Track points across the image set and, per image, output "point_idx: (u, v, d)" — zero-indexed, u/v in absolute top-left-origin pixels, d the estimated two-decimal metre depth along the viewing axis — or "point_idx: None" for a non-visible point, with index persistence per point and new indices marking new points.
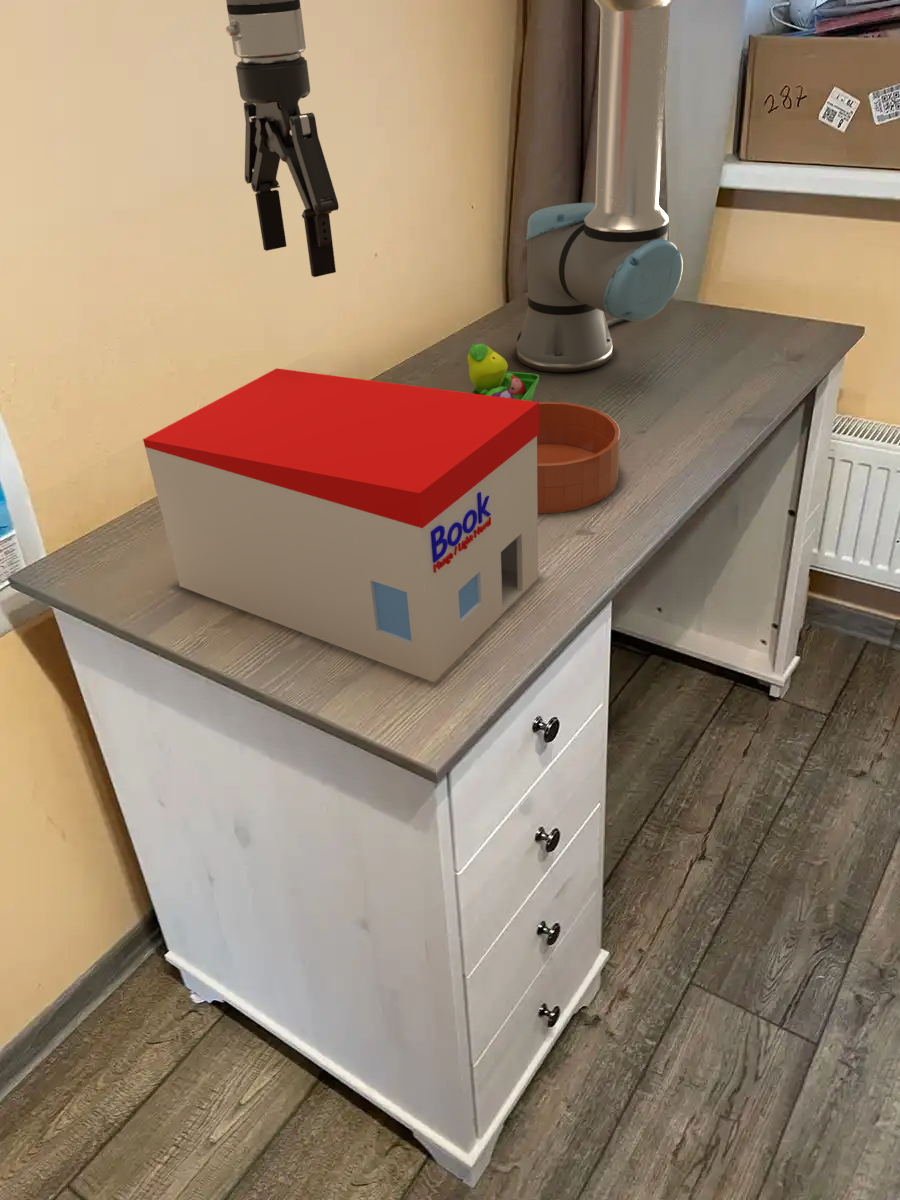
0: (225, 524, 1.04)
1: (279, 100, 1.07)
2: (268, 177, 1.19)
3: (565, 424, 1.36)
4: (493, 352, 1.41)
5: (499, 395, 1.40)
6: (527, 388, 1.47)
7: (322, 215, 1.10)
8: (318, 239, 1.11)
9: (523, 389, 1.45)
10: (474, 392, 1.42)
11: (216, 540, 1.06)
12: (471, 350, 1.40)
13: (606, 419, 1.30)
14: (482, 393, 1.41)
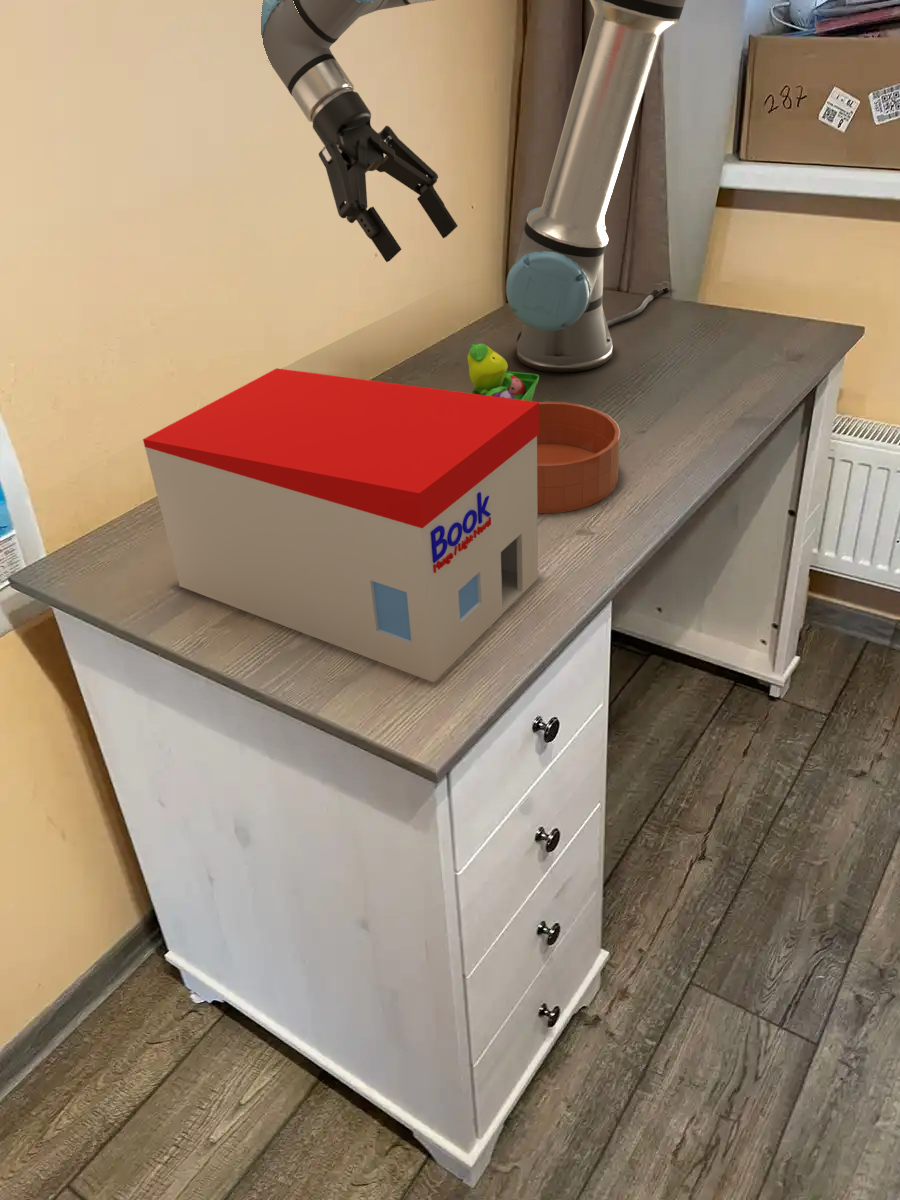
0: (225, 524, 1.04)
1: (327, 140, 1.35)
2: (414, 181, 1.42)
3: (565, 424, 1.36)
4: (493, 352, 1.41)
5: (499, 395, 1.40)
6: (527, 388, 1.47)
7: (356, 215, 1.32)
8: None
9: (523, 389, 1.45)
10: (474, 392, 1.42)
11: (216, 540, 1.06)
12: (471, 350, 1.40)
13: (606, 419, 1.30)
14: (482, 393, 1.41)
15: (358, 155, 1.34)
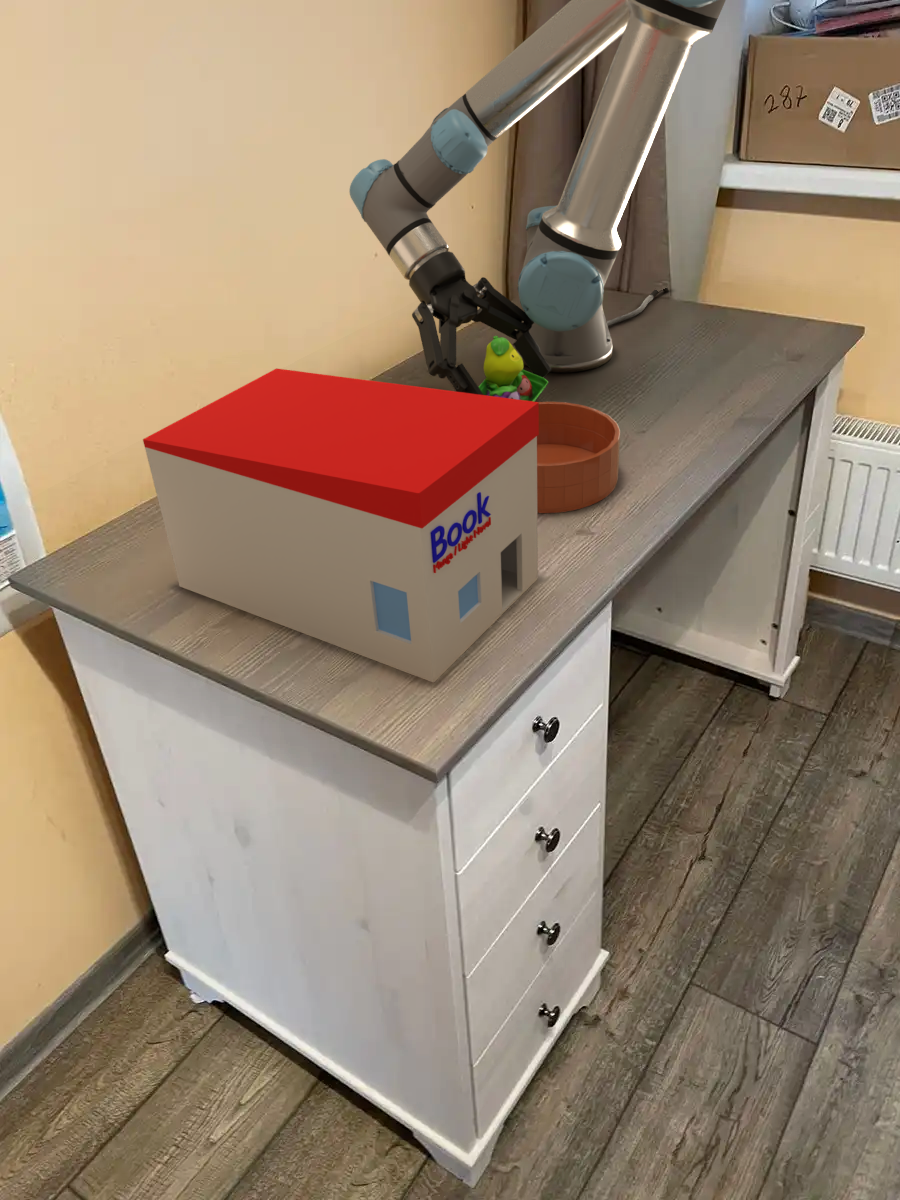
0: (225, 524, 1.04)
1: (422, 299, 1.41)
2: (509, 329, 1.46)
3: (565, 424, 1.36)
4: (513, 349, 1.39)
5: (509, 394, 1.39)
6: (533, 390, 1.46)
7: (445, 372, 1.37)
8: None
9: (530, 392, 1.44)
10: (484, 383, 1.41)
11: (216, 540, 1.06)
12: (493, 342, 1.38)
13: (606, 419, 1.30)
14: (492, 387, 1.40)
15: (449, 313, 1.39)
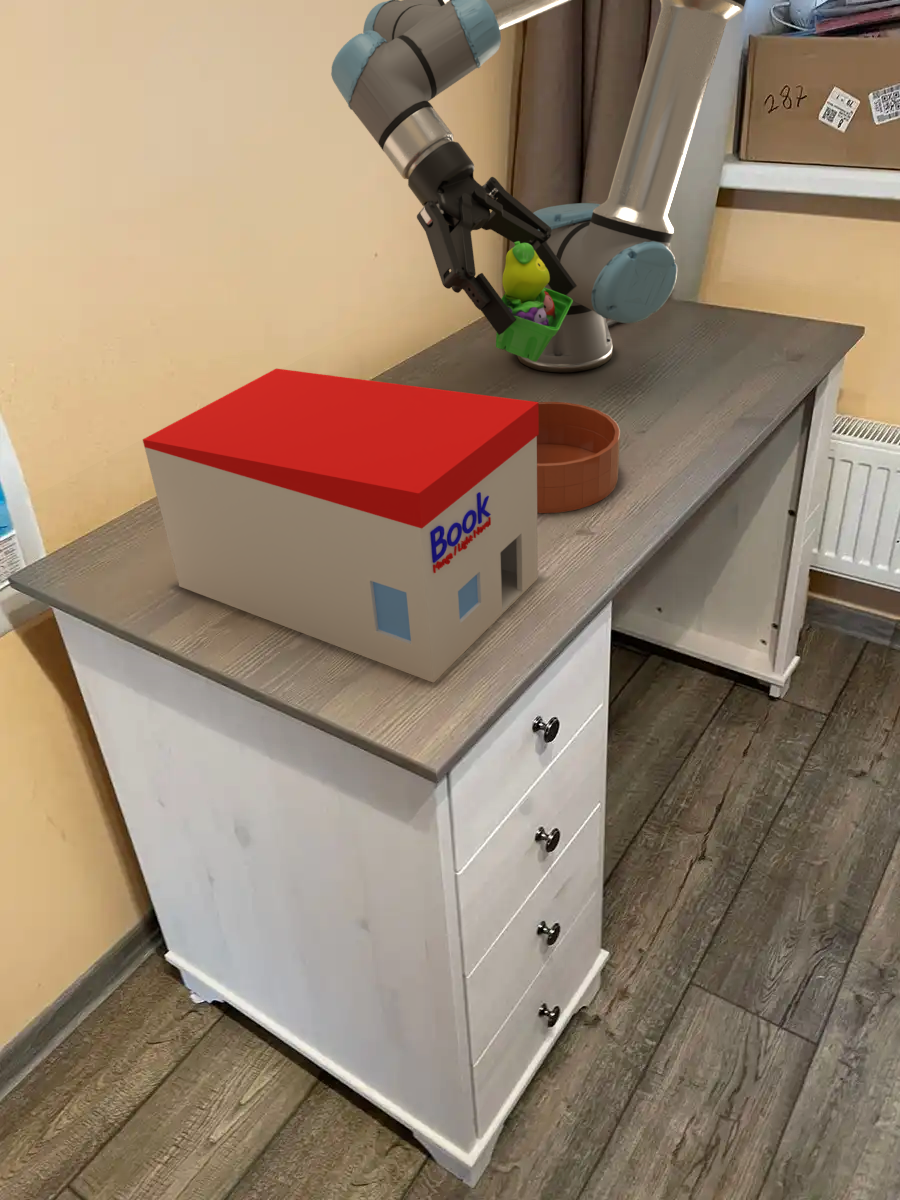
0: (225, 524, 1.04)
1: (425, 200, 1.18)
2: (525, 238, 1.23)
3: (565, 424, 1.36)
4: (538, 258, 1.17)
5: (536, 311, 1.17)
6: (555, 310, 1.24)
7: (463, 283, 1.14)
8: None
9: (554, 311, 1.22)
10: (504, 299, 1.18)
11: (216, 540, 1.06)
12: (516, 248, 1.16)
13: (606, 419, 1.30)
14: (515, 303, 1.17)
15: (462, 214, 1.16)
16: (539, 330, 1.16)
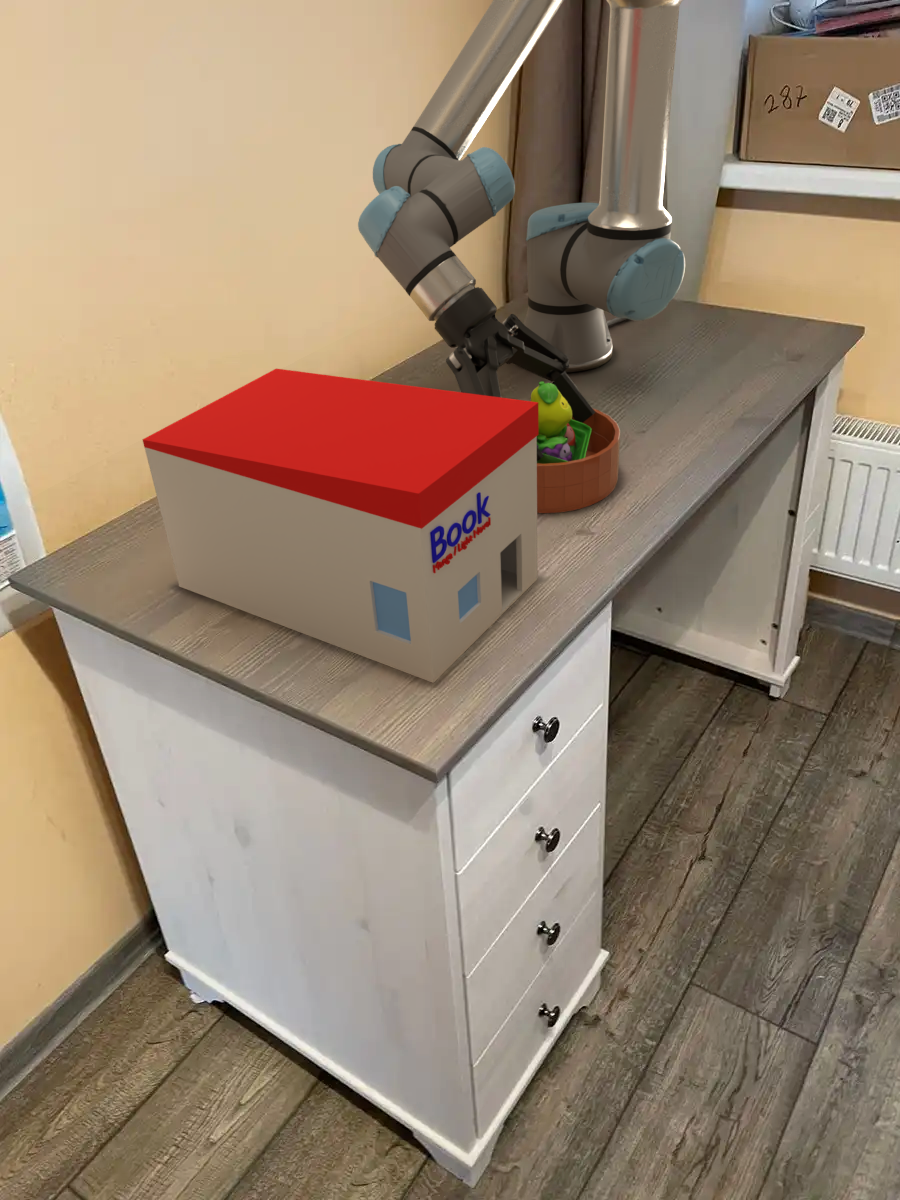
0: (224, 524, 1.04)
1: (452, 343, 1.24)
2: (545, 369, 1.30)
3: None
4: (561, 396, 1.24)
5: (561, 447, 1.24)
6: (575, 438, 1.31)
7: None
8: None
9: (574, 440, 1.29)
10: None
11: (216, 540, 1.06)
12: (541, 389, 1.23)
13: (606, 419, 1.30)
14: (541, 439, 1.24)
15: (488, 357, 1.23)
16: None
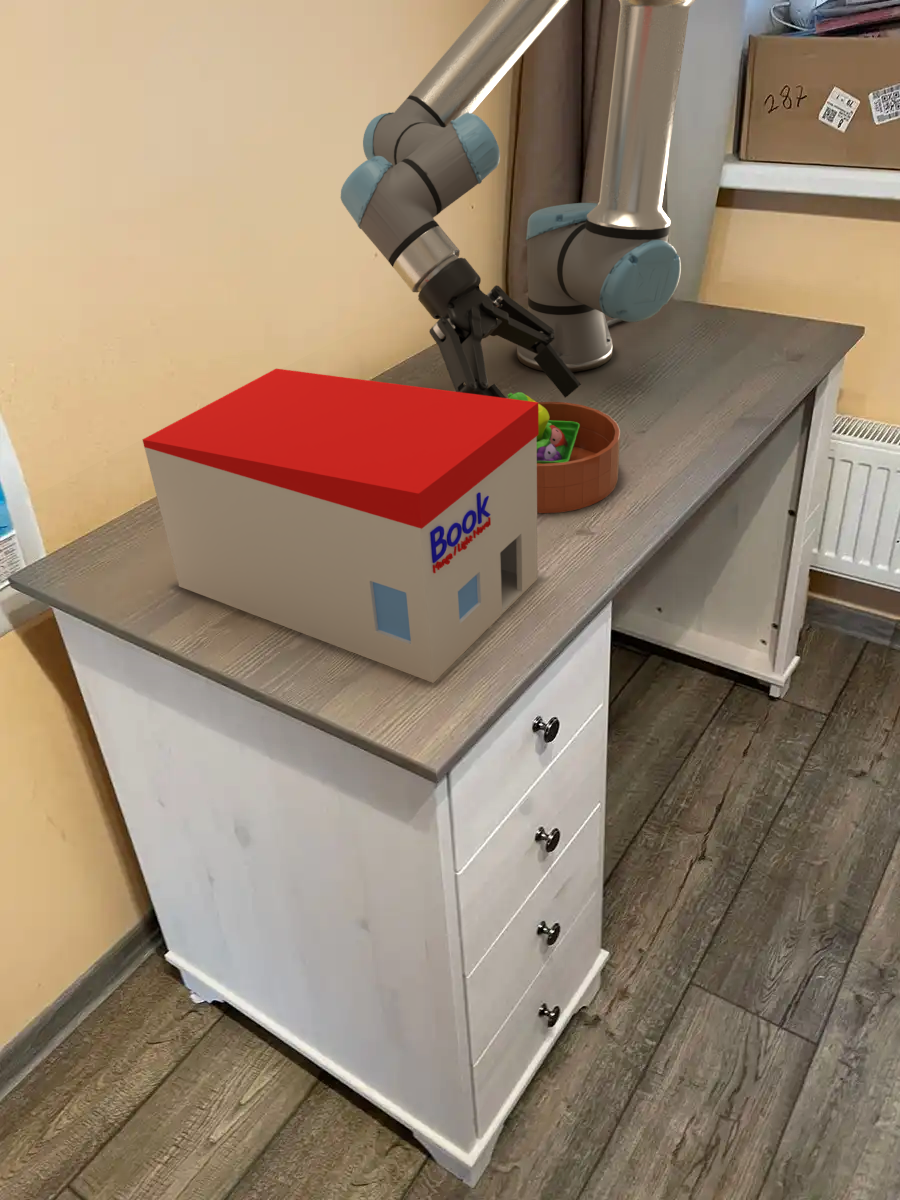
0: (224, 524, 1.04)
1: (436, 313, 1.23)
2: (530, 341, 1.29)
3: None
4: (533, 401, 1.25)
5: (544, 449, 1.24)
6: (566, 438, 1.31)
7: None
8: None
9: (564, 440, 1.30)
10: None
11: (216, 540, 1.06)
12: None
13: (606, 419, 1.30)
14: None
15: (472, 327, 1.22)
16: None
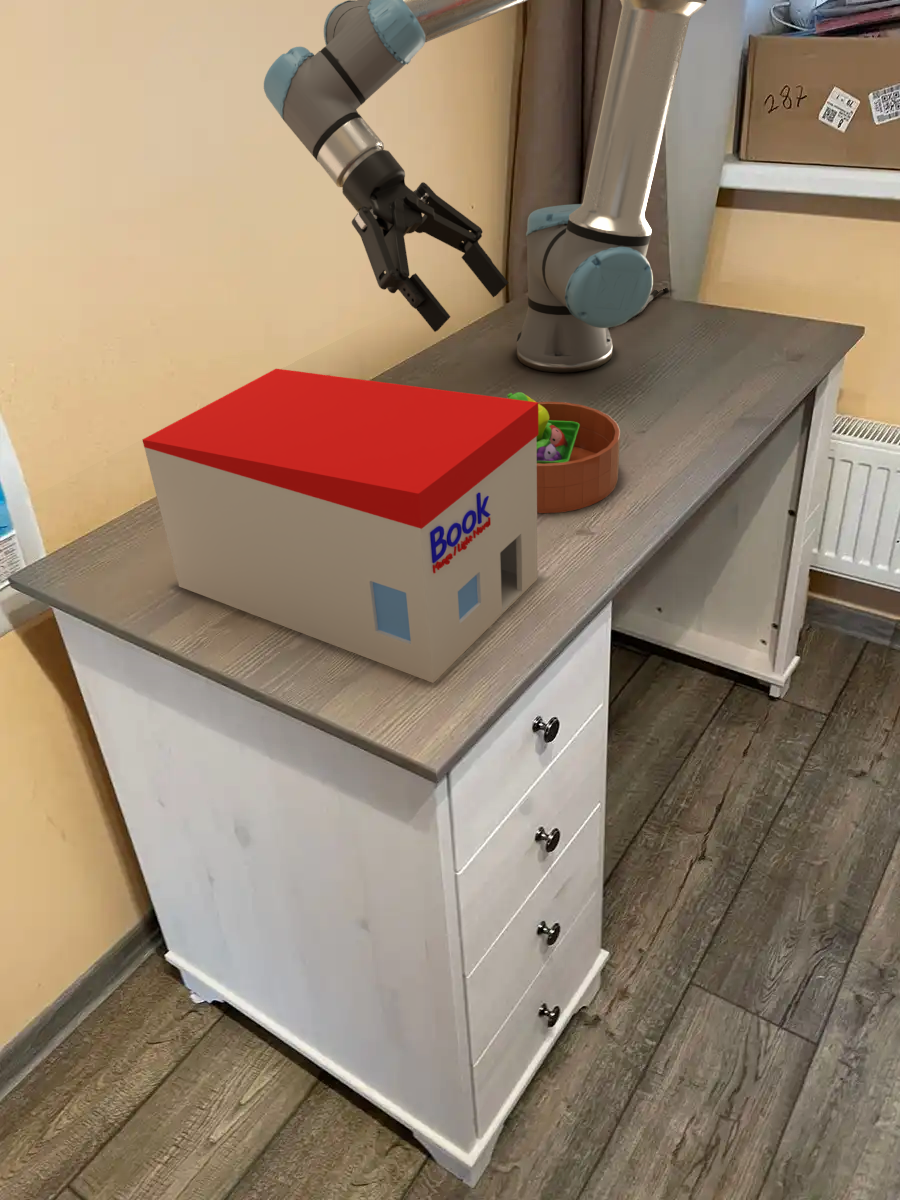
0: (224, 524, 1.04)
1: (360, 206, 1.23)
2: (457, 239, 1.29)
3: None
4: (533, 401, 1.25)
5: (544, 449, 1.24)
6: (566, 438, 1.31)
7: (398, 284, 1.20)
8: None
9: (564, 440, 1.30)
10: None
11: (216, 540, 1.06)
12: None
13: (606, 419, 1.30)
14: None
15: (395, 219, 1.22)
16: None
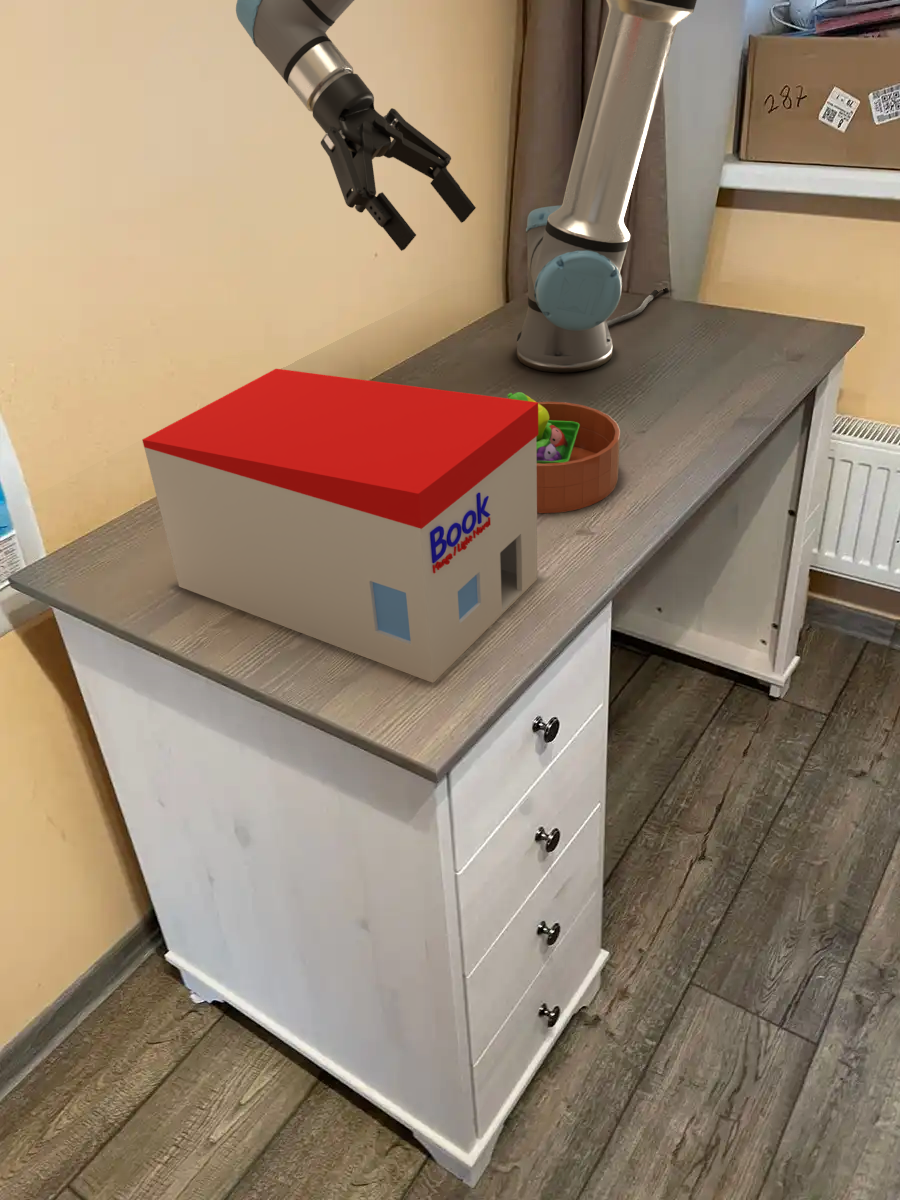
0: (224, 524, 1.04)
1: (329, 128, 1.26)
2: (426, 165, 1.32)
3: None
4: (533, 401, 1.25)
5: (544, 449, 1.24)
6: (566, 438, 1.31)
7: (365, 202, 1.23)
8: None
9: (564, 440, 1.30)
10: None
11: (216, 540, 1.06)
12: None
13: (606, 419, 1.30)
14: None
15: (363, 140, 1.25)
16: None
